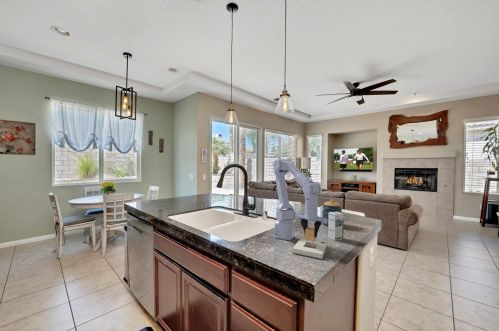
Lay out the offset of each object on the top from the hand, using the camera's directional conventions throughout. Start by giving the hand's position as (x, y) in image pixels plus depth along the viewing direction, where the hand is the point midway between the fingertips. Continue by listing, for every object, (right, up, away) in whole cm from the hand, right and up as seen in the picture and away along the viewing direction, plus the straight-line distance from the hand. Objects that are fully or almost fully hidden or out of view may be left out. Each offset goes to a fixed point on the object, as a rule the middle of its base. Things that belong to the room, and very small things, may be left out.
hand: (310, 235), depth 102 cm
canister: (+27, -7, +43) cm, 52 cm away
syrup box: (+18, -7, +16) cm, 26 cm away
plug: (0, -2, 0) cm, 2 cm away
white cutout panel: (0, -7, 0) cm, 7 cm away
